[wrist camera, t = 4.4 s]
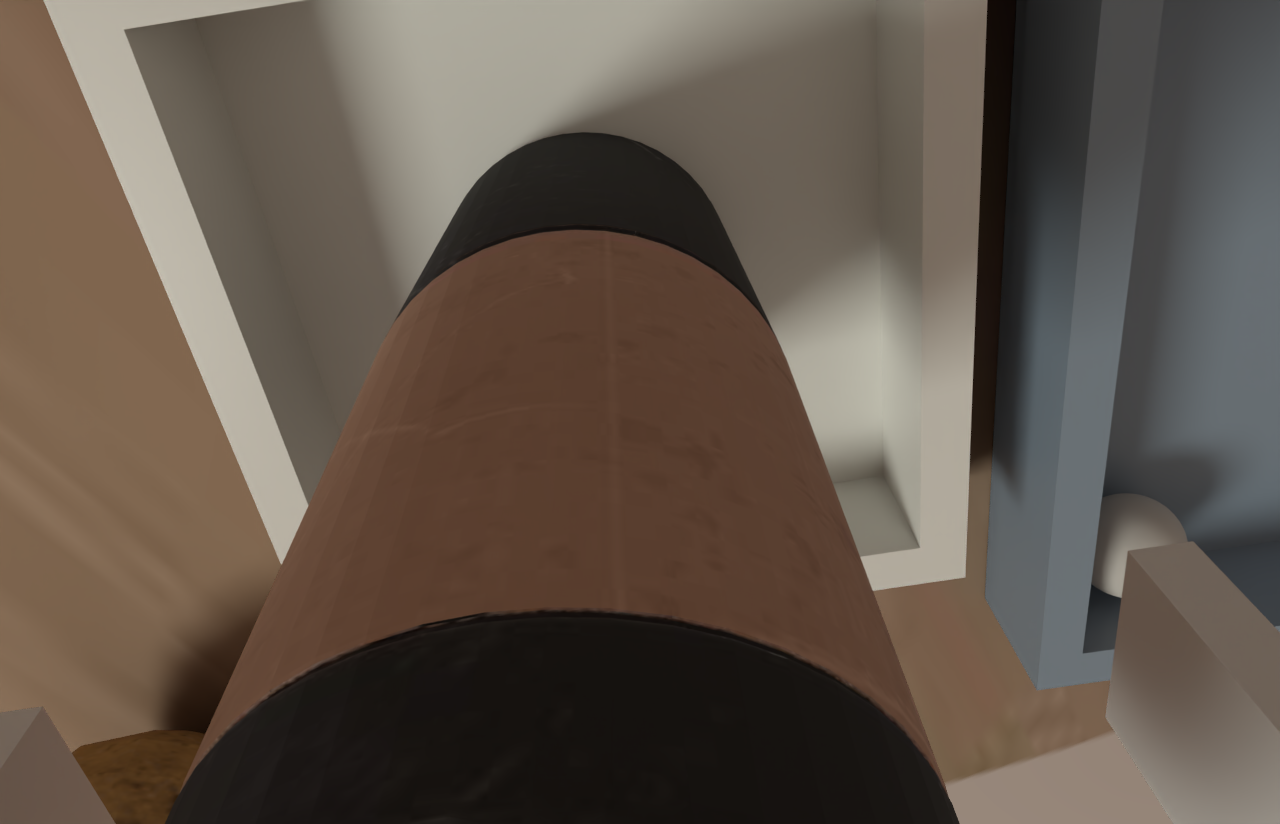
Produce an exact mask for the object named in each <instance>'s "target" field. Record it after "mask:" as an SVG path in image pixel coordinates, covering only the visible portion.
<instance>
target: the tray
mask: <svg viewBox="0 0 1280 824" xmlns="http://www.w3.org/2000/svg"><path fill="white" fill-rule="evenodd" d="M44 2H45V5H46V7H47V10H48V12H49V14H50V17H51V19H52V21H53V24H54V26H55V29H56V31H57V33H58V36H59V38H60V40H61V43H62V45H63V48H64V50H65V52H66V55H67V57H68V59H69V62H70V64H71V67H72V69H73V71H74V74H75V76H76V78H77V81H78V83H79V86H80V88H81V90H82V93H83V95H84V97H85V100H86V102H87V105H88V107H89V109H90V112H91V114H92V116H93V119H94V121H95V124H96V126H97V128H98V131H99V133H100V135H101V138H102V140H103V143H104V145H105V147H106V150H107V152H108V154H109V157H110V159H111V162H112V164H113V166H114V169H115V171H116V173H117V176H118V178H119V181H120V183H121V185H122V188H123V190H124V192H125V195H126V197H127V200H128V202H129V204H130V207H131V209H132V211H133V214H134V216H135V219H136V221H137V223H138V226H139V228H140V230H141V233H142V235H143V238H144V240H145V242H146V245H147V247H148V249H149V252H150V254H151V256H152V259H153V261H154V264H155V266H156V268H157V271H158V273H159V275H160V278H161V280H162V283H163V285H164V287H165V290H166V292H167V294H168V297H169V299H170V302H171V304H172V306H173V309H174V311H175V313H176V316H177V318H178V321H179V323H180V325H181V328H182V330H183V332H184V335H185V337H186V340H187V342H188V344H189V347H190V349H191V351H192V354H193V356H194V359H195V361H196V363H197V366H198V368H199V370H200V373H201V375H202V378H203V380H204V382H205V385H206V387H207V389H208V392H209V394H210V397H211V399H212V401H213V404H214V406H215V408H216V411H217V413H218V416H219V418H220V420H221V423H222V425H223V427H224V430H225V432H226V435H227V437H228V439H229V442H230V444H231V446H232V449H233V451H234V454H235V456H236V458H237V461H238V463H239V465H240V468H241V470H242V473H243V475H244V477H245V480H246V482H247V484H248V487H249V489H250V491H251V494H252V496H253V499H254V501H255V503H256V506H257V508H258V510H259V513H260V515H261V518H262V520H263V522H264V525H265V527H266V529H267V532H268V534H269V537H270V539H271V541H272V544H273V546H274V548H275V551H276V553H277V556H278V558H279V560H280V563H281V565H282V563H283V561H284V559H285V556H286V554H287V552H288V550H289V548H290V545H291V543H292V541H293V539H294V537H295V534H296V532H297V530H298V528H299V525H300V523H301V521H302V519H303V517H304V514H305V512H306V510H307V508H308V506H309V503H310V501H311V499H312V497H313V495H314V492H315V490H316V488H317V486H318V483H319V481H320V479H321V477H322V475H323V472H324V470H325V468H326V466H327V464H328V461H329V459H330V457H331V455H332V452H333V450H334V448H335V446H336V444H337V441H338V439H339V437H340V435H341V433H342V430H343V428H344V426H345V424H346V421H347V419H348V417H349V415H350V413H351V410H352V408H353V406H354V404H355V402H356V399H357V397H358V395H359V393H360V390H361V388H362V386H363V384H364V382H365V379H366V377H367V375H368V373H369V371H370V368H371V366H372V364H373V362H374V359H375V357H376V355H377V353H378V351H379V348H380V346H381V344H382V343H383V341H384V339H385V337H386V335H387V333H388V331H389V330H390V328H391V326H392V324H393V323H394V321H395V319H396V317H397V315H398V314H399V312H400V310H401V308H402V307H403V305H404V303H405V301H406V300H407V298H408V296H409V294H410V292H411V291H412V289H413V287H414V285H415V284H416V282H417V280H418V278H419V276H420V275H421V273H422V271H423V269H424V268H425V266H426V264H427V262H428V261H429V259H430V257H431V255H432V253H433V252H434V250H435V248H436V246H437V245H438V243H439V241H440V239H441V237H442V236H443V234H444V232H445V230H446V229H447V227H448V225H449V223H450V222H451V220H452V218H453V216H454V215H455V213H456V211H457V209H458V207H459V206H460V204H461V202H462V201H463V199H464V198H465V196H466V194H467V193H468V192H469V190H470V189H471V188H472V187H473V185H474V184H475V183H476V181H477V180H478V179H479V178H480V177H481V176H482V175H483V174H484V173H485V172H486V171H487V170H488V169H489V168H490V167H491V166H493V165H494V164H495V163H497V162H498V161H499V160H501V159H502V158H503V157H505V156H506V155H508V154H509V153H511V152H513V151H515V150H517V149H519V148H521V147H522V146H524V145H527V144H530V143H532V142H535V141H538V140H540V139H543V138H547V137H552V136H556V135H560V134H568V133H579V132H590V133H605V134H611V135H616V136H622V137H625V138H628V139H631V140H634V141H638V142H641V143H643V144H645V145H647V146H649V147H651V148H653V149H656V150H658V151H660V152H661V153H663V154H664V155H666V156H667V157H669V158H670V159H672V160H673V161H675V162H676V163H677V164H678V165H680V166H681V167H682V168H683V169H684V170H685V171H686V172H688V173H689V174H690V175H691V176H692V178H693V179H694V180H695V181H696V182H697V183H698V184H699V185H700V187H701V188H702V189H703V191H704V192H705V194H706V195H707V197H708V198H709V200H710V201H711V203H712V204H713V206H714V208H715V210H716V212H717V214H718V216H719V218H720V220H721V222H722V224H723V226H724V228H725V230H726V232H727V234H728V237H729V239H730V241H731V243H732V245H733V247H734V249H735V251H736V253H737V255H738V258H739V260H740V262H741V264H742V266H743V268H744V270H745V272H746V274H747V276H748V279H749V281H750V283H751V285H752V287H753V289H754V291H755V293H756V295H757V298H758V300H759V302H760V304H761V306H762V308H763V310H764V312H765V314H766V316H767V319H768V321H769V323H770V325H771V327H772V329H773V331H774V333H775V335H776V337H777V340H778V342H779V344H780V346H781V348H782V351H783V353H784V355H785V357H786V359H787V362H788V365H789V367H790V370H791V373H792V375H793V378H794V381H795V383H796V386H797V389H798V391H799V394H800V397H801V399H802V402H803V405H804V407H805V410H806V413H807V416H808V418H809V421H810V424H811V426H812V429H813V432H814V434H815V437H816V440H817V442H818V445H819V448H820V450H821V453H822V456H823V459H824V461H825V464H826V467H827V469H828V472H829V475H830V477H831V480H832V483H833V485H834V488H835V491H836V493H837V496H838V499H839V502H840V504H841V507H842V510H843V512H844V515H845V518H846V520H847V523H848V526H849V528H850V531H851V534H852V536H853V539H854V542H855V545H856V547H857V550H858V553H859V555H860V558H861V561H862V563H863V566H864V569H865V571H866V574H867V577H868V579H869V582H870V585H871V587H872V590H873V591H874V590H881V589H888V588H895V587H902V586H909V585H916V584H923V583H930V582H937V581H944V580H951V579H958V578H964V577H965V570H966V544H967V518H968V492H969V466H970V440H971V414H972V389H973V363H974V337H975V311H976V285H977V259H978V233H979V207H980V181H981V155H982V129H983V103H984V77H985V51H986V25H987V0H44Z"/></svg>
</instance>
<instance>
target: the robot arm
mask: <svg viewBox="0 0 1280 824" xmlns="http://www.w3.org/2000/svg"><path fill="white" fill-rule="evenodd" d="M1106 719H1107V721H1108V722H1109V724H1110V725H1111V727H1112V728H1113V730H1114V732H1115V733H1116V735H1117V736H1118V738H1119V739H1120V741H1121V743H1122V744H1123V746H1124V747H1125V749H1126V750H1127V752H1128V754H1129V755H1130V757H1131V758H1132V760H1133V761H1134V763H1135V765H1136V766H1137V768H1138V769H1139V771H1140V772H1141V774H1142V775H1143V777H1144V779H1145V780H1146V782H1147V783H1148V785H1149V786H1150V788H1151V790H1152V791H1153V793H1154V794H1155V796H1156V797H1157V799H1158V801H1159V802H1160V804H1161V805H1162V807H1163V809H1164V810H1165V812H1166V813H1167V815H1168V816H1169V818H1170V819H1171V821H1172V823H1173V824H1280V632H1279V631H1278V630H1277V629H1276V628H1275V627H1274V626H1273V625H1272V624H1271V623H1270V622H1269V620H1268V619H1267V618H1266V617H1265V616H1264V615H1263V614H1262V613H1261V612H1260V611H1259V610H1258V609H1257V608H1256V607H1255V606H1254V605H1253V604H1252V603H1251V602H1250V601H1249V599H1248V598H1247V597H1246V596H1245V595H1244V594H1243V593H1242V592H1241V591H1240V590H1239V589H1238V588H1237V587H1236V586H1235V585H1234V584H1233V583H1232V582H1231V581H1230V579H1229V578H1228V577H1227V576H1226V575H1225V574H1224V573H1223V572H1222V571H1221V570H1220V569H1219V568H1218V567H1217V566H1216V565H1215V564H1214V563H1213V562H1212V561H1211V559H1210V558H1209V557H1208V556H1207V555H1206V554H1205V553H1204V552H1203V551H1202V550H1201V549H1200V548H1199V547H1198V546H1197V545H1196V544H1195V543H1194V542H1193V541H1191V542H1184V543H1178V544H1171V545H1164V546H1157V547H1150V548H1143V549H1136V550H1129V551H1128V553H1127V561H1126V568H1125V576H1124V583H1123V591H1122V598H1121V605H1120V613H1119V620H1118V628H1117V635H1116V642H1115V650H1114V657H1113V665H1112V672H1111V679H1110V687H1109V694H1108V702H1107V709H1106ZM0 824H116V823H115V822H114V820H113V819H112V817H111V815H110V814H109V812H108V811H107V809H106V807H105V806H104V804H103V803H102V801H101V799H100V798H99V796H98V794H97V793H96V791H95V790H94V788H93V786H92V785H91V783H90V782H89V780H88V778H87V777H86V775H85V774H84V772H83V770H82V769H81V767H80V766H79V764H78V762H77V761H76V759H75V758H74V756H73V754H72V753H71V751H70V749H69V748H68V746H67V745H66V743H65V741H64V740H63V738H62V737H61V735H60V733H59V732H58V730H57V729H56V727H55V725H54V724H53V722H52V721H51V719H50V717H49V716H48V714H47V713H46V711H45V709H44V708H43V707H36V708H29V709H22V710H15V711H8V712H1V713H0Z"/></svg>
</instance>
